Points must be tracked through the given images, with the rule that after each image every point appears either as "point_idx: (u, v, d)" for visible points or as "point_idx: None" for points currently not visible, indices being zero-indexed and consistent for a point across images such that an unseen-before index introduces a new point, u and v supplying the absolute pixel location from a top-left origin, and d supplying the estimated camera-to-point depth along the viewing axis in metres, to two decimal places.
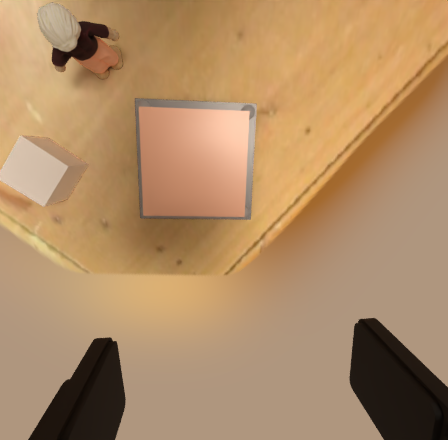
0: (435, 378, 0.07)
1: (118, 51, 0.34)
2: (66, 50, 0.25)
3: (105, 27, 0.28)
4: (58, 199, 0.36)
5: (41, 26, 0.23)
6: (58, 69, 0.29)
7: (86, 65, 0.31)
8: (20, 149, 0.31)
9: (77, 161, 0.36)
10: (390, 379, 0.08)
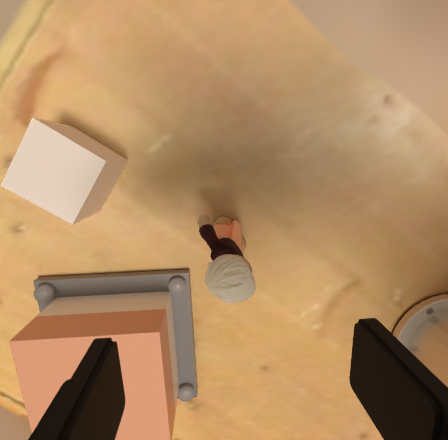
0: (435, 378, 0.07)
1: None
2: (205, 282, 0.18)
3: None
4: None
5: (227, 267, 0.17)
6: (199, 221, 0.22)
7: None
8: (84, 160, 0.21)
9: (96, 207, 0.26)
10: (390, 379, 0.08)
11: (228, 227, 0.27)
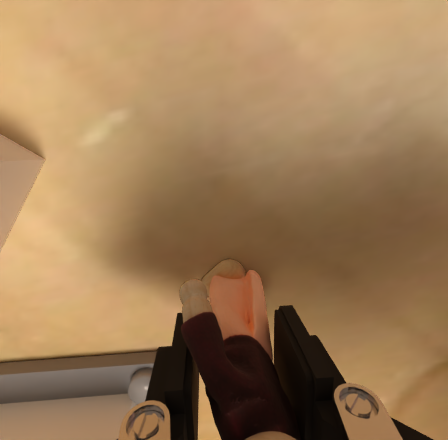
0: (318, 354, 0.09)
1: None
2: None
3: None
4: None
5: None
6: (182, 297, 0.09)
7: None
8: None
9: None
10: (289, 357, 0.09)
11: (240, 286, 0.14)
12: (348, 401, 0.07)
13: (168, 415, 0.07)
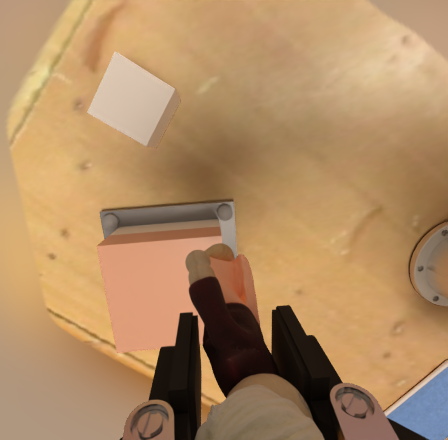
0: (314, 353, 0.09)
1: None
2: None
3: None
4: None
5: None
6: (189, 264, 0.11)
7: None
8: (157, 88, 0.25)
9: (156, 140, 0.30)
10: (286, 357, 0.09)
11: (230, 267, 0.15)
12: (344, 401, 0.07)
13: (172, 414, 0.07)
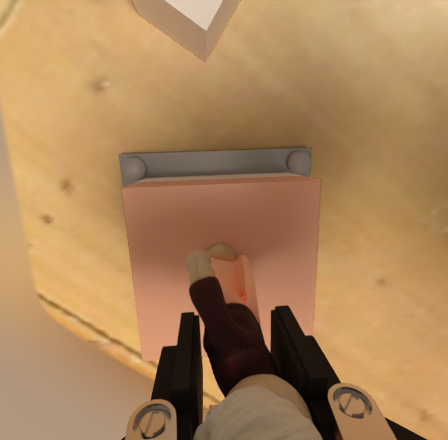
0: (312, 353, 0.09)
1: None
2: None
3: None
4: None
5: None
6: (190, 264, 0.11)
7: None
8: None
9: (211, 44, 0.20)
10: (285, 357, 0.09)
11: (232, 267, 0.15)
12: (342, 401, 0.07)
13: (175, 414, 0.07)
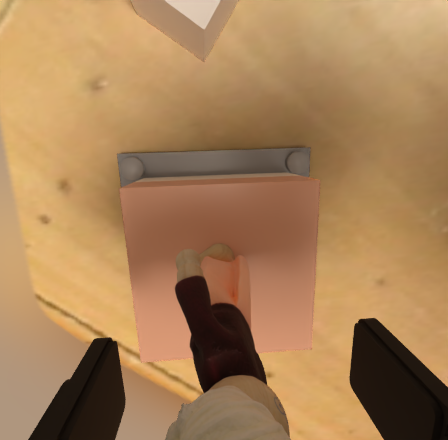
0: (435, 378, 0.07)
1: None
2: None
3: None
4: None
5: None
6: (178, 263, 0.11)
7: None
8: None
9: (210, 43, 0.20)
10: (390, 379, 0.08)
11: (228, 267, 0.15)
12: None
13: None
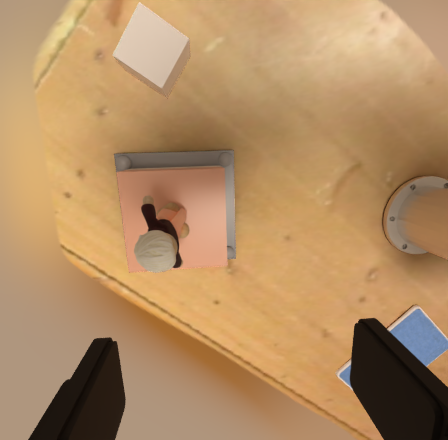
0: (435, 378, 0.07)
1: (182, 237, 0.32)
2: (134, 251, 0.21)
3: (177, 267, 0.25)
4: (124, 66, 0.32)
5: (152, 240, 0.20)
6: (143, 200, 0.25)
7: None
8: (173, 36, 0.29)
9: (168, 89, 0.34)
10: (390, 379, 0.08)
11: (173, 212, 0.30)
12: None
13: None
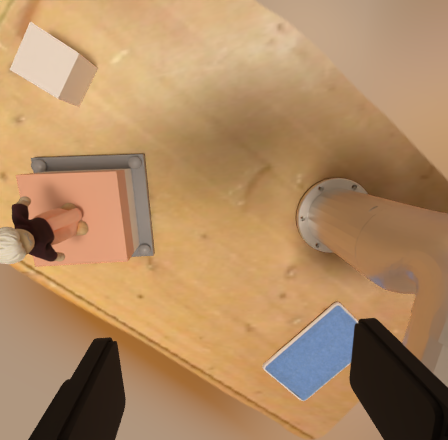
0: (435, 378, 0.07)
1: (80, 234, 0.35)
2: None
3: (51, 260, 0.28)
4: None
5: None
6: (19, 201, 0.28)
7: None
8: (65, 52, 0.32)
9: (75, 99, 0.37)
10: (390, 379, 0.08)
11: (65, 212, 0.33)
12: None
13: None
